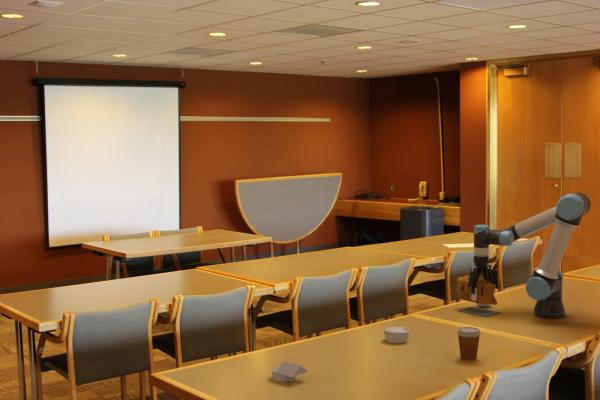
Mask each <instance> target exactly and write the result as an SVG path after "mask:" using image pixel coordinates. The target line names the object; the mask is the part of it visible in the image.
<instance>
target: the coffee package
mask: <svg viewBox="0 0 600 400" xmlns="http://www.w3.org/2000/svg"><path fill="white" fill-rule="evenodd" d="M469 277H470V274H467V275H464V276H459V277H458V278H457V279H456V285H457V287H456V295H457V298H458V300H462V301H466V302H471V303H475V304H477V303H480V304H490V305H491V306H492V305H493V306H497V305H498V301H497V299H496V297H495V292H496V288H497V287H496V286H497V284H496V283H492V284H491V283H489V282H488V281H487V280H485V279H484V278H483V277H479V279H478V282H477V285H476V287H475V288H477V301H474V300H471V296H472V294H471V287H469V286H468V283H469Z"/></svg>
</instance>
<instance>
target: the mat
mask: <svg viewBox="0 0 600 400" xmlns="http://www.w3.org/2000/svg"><path fill="white" fill-rule="evenodd" d="M457 312H461V313H466V314H471V315H476V316H480V317H486V318H488V317H492V316H495V315H499V314H501V312H502V311H497V310H492V309H487V308H483V307H478V306H468V307H465V308H460V309H457Z"/></svg>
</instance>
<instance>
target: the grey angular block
mask: <svg viewBox="0 0 600 400" xmlns="http://www.w3.org/2000/svg"><path fill="white" fill-rule="evenodd" d="M308 372H309V370H307V369H306V368H305V367H303V365H300V364H297V363H293V362H289V361H286V360H285V361H284V360H283V361H282V362H281V364H280V366H276V367H273V368H272V369H271V380H272V379H273V380H272V381H274V380H275V381H274V382H276V381H282V382H281V383H287V382H286V381H290V382H292V381H291V380H294V379H295V378H296V379H297V376H299V375H303V374H305V373H308ZM296 379H295V380H296ZM295 380H294V381H295Z"/></svg>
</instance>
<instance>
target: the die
mask: <svg viewBox="0 0 600 400" xmlns="http://www.w3.org/2000/svg"><path fill="white" fill-rule="evenodd" d="M476 305H477V307H478V308H489V307H490V305H491V304H480V303H476Z"/></svg>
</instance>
